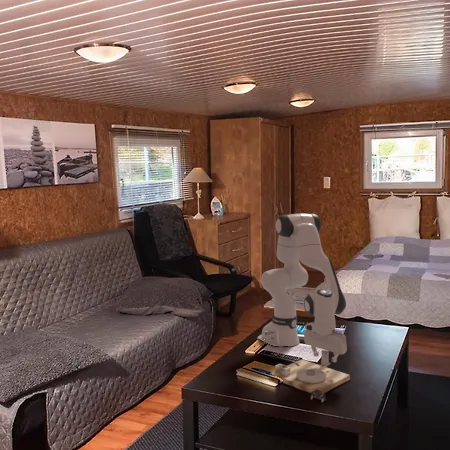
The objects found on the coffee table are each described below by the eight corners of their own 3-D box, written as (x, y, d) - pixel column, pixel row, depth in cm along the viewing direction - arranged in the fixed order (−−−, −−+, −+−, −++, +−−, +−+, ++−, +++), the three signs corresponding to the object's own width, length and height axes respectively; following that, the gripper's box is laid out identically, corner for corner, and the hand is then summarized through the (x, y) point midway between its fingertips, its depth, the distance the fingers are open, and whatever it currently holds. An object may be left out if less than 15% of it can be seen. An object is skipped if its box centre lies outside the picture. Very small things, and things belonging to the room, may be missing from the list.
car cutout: (306, 402, 204) (306, 391, 204) (314, 395, 209) (314, 385, 209) (342, 412, 195) (342, 400, 195) (349, 405, 201) (349, 394, 200)
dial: (313, 386, 212) (313, 365, 211) (290, 377, 220) (290, 357, 219) (341, 372, 225) (341, 352, 224) (318, 364, 234) (318, 345, 233)
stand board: (269, 377, 227) (269, 364, 226) (301, 363, 242) (301, 351, 241) (318, 396, 208) (318, 381, 207) (349, 379, 223) (350, 366, 222)
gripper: (349, 331, 219) (349, 363, 221) (310, 321, 234) (310, 351, 236) (341, 334, 215) (341, 367, 217) (301, 324, 230) (302, 354, 232)
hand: (325, 358), depth 226 cm, fingers open, 8 cm apart
